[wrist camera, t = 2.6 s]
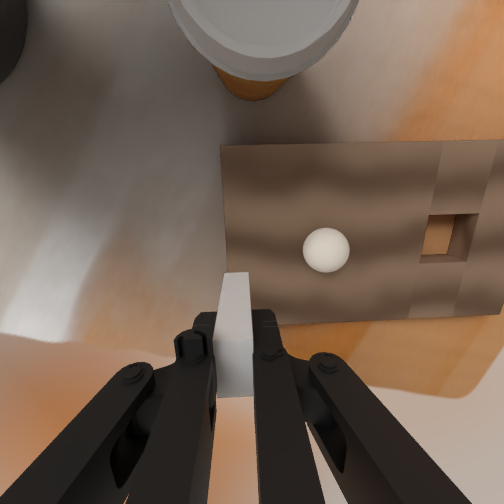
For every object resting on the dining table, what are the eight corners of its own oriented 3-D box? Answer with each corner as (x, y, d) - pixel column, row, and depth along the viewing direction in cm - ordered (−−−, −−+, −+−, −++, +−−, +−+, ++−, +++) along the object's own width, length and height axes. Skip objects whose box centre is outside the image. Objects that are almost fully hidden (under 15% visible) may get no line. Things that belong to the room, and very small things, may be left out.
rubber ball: (299, 224, 23) (310, 234, 20) (340, 222, 23) (360, 233, 20) (297, 263, 25) (308, 280, 21) (337, 262, 25) (355, 278, 21)
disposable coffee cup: (292, -30, 19) (366, -312, 8) (317, 102, 22) (396, 32, 11) (179, 10, 20) (97, -203, 9) (217, 134, 23) (195, 99, 12)
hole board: (222, 148, 23) (220, 145, 21) (527, 141, 24) (558, 138, 22) (231, 314, 29) (230, 327, 27) (479, 303, 30) (499, 314, 28)
